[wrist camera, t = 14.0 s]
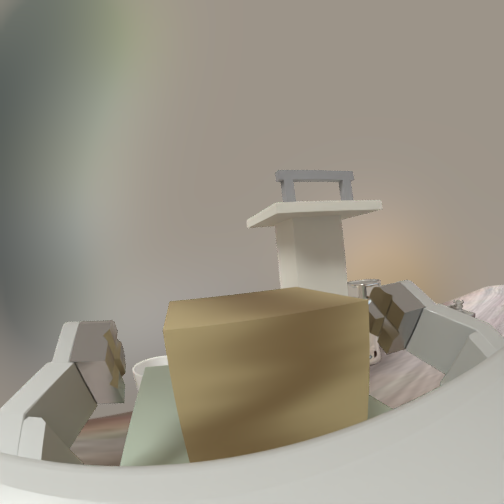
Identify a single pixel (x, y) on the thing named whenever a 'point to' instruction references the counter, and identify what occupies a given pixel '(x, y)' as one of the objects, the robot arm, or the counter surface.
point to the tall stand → (312, 231)
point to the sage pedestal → (169, 422)
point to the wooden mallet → (266, 368)
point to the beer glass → (363, 291)
